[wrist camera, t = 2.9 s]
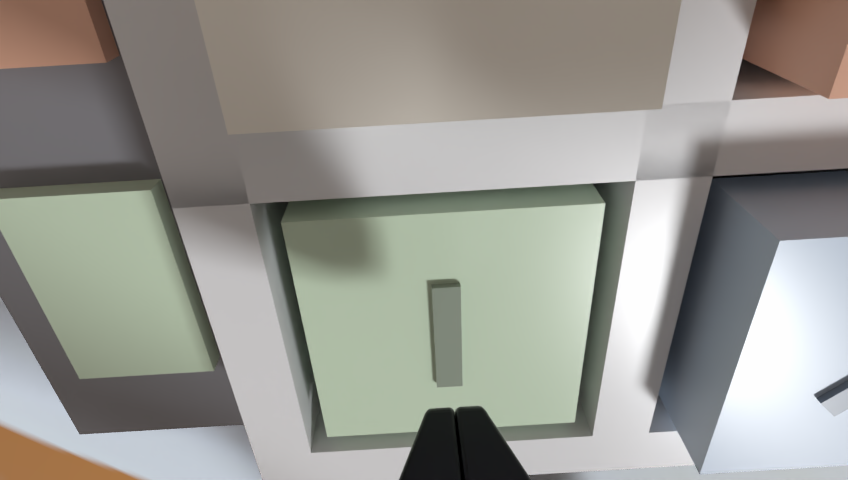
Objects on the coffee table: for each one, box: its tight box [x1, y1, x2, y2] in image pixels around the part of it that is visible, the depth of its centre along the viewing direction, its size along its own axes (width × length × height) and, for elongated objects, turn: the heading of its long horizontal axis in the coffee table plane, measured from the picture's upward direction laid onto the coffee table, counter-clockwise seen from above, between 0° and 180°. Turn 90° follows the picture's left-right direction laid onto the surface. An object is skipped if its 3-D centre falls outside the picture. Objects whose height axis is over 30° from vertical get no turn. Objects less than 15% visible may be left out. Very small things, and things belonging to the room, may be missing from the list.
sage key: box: [281, 183, 605, 437], centre depth 11 cm, size 5×5×2 cm
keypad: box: [0, 0, 848, 480], centre depth 11 cm, size 17×22×6 cm
